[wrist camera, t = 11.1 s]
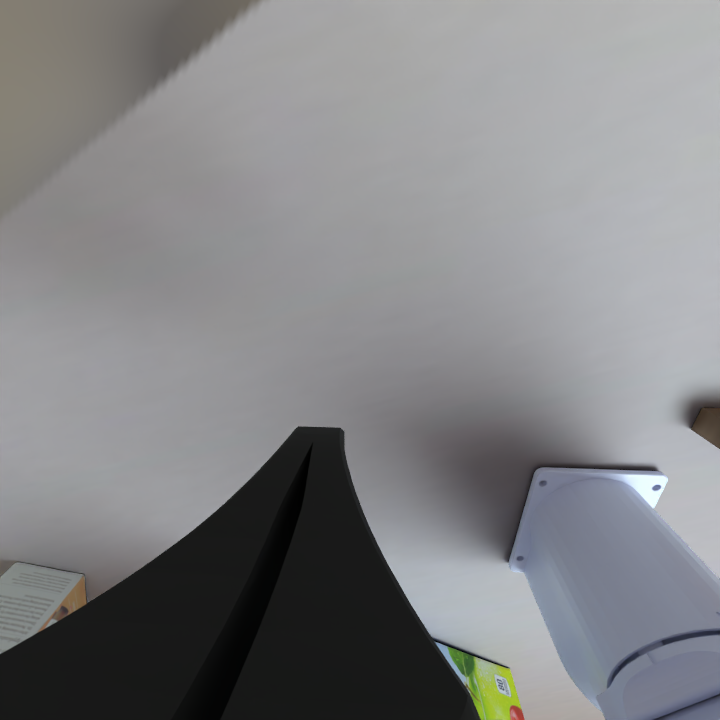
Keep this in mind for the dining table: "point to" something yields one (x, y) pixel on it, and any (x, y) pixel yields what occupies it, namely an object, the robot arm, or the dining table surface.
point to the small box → (36, 600)
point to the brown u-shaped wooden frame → (708, 425)
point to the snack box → (486, 685)
